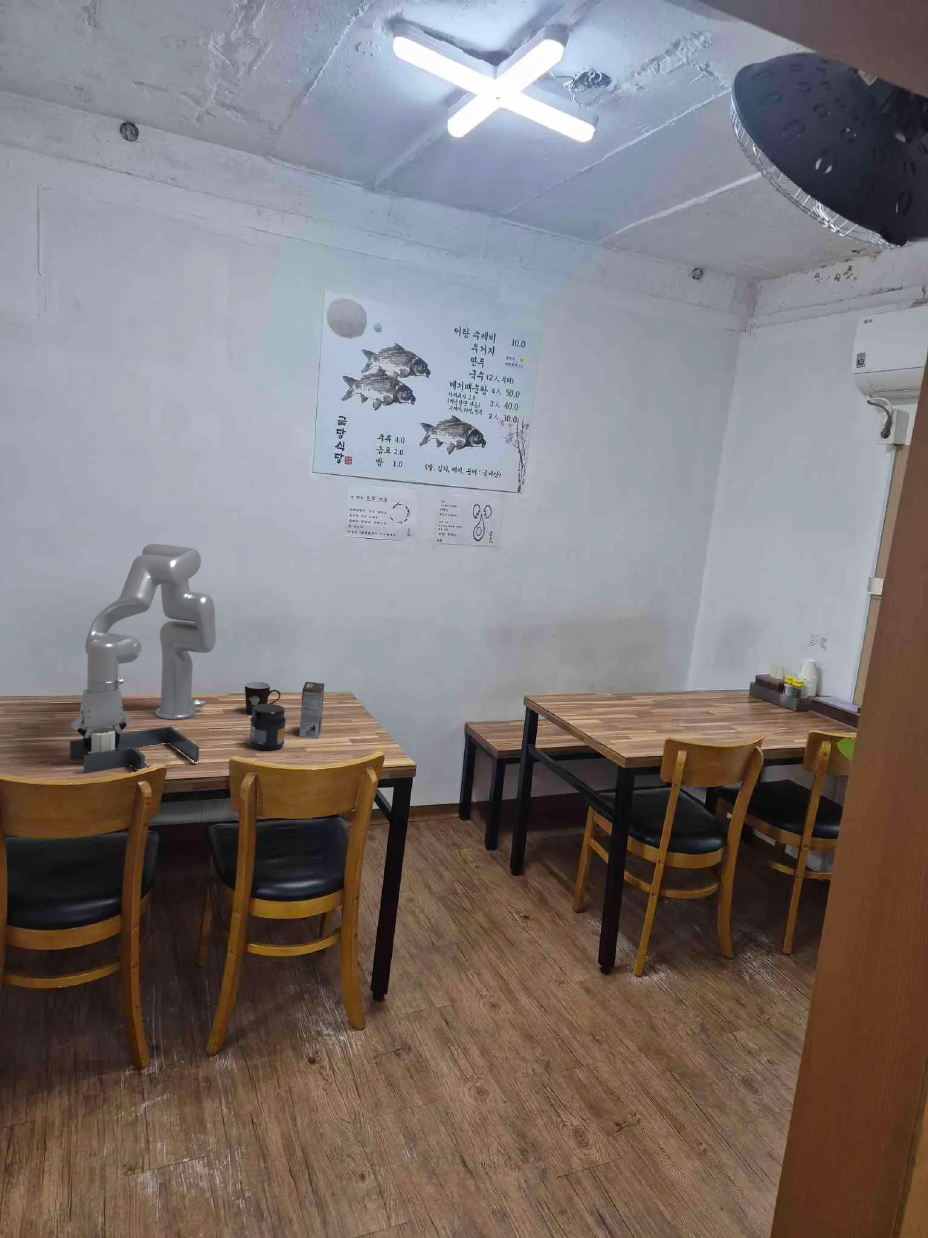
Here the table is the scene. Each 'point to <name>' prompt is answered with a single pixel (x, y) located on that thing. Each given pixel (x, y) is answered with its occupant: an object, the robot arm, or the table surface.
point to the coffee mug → (257, 695)
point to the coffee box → (311, 709)
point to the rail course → (132, 749)
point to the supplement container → (267, 727)
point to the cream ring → (102, 739)
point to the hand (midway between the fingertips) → (101, 747)
